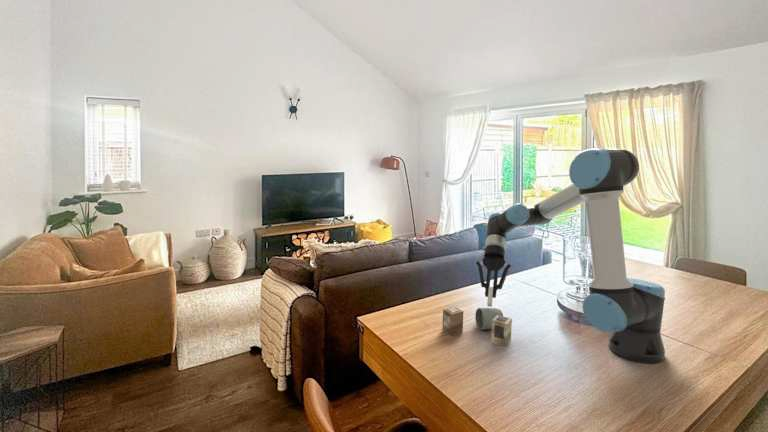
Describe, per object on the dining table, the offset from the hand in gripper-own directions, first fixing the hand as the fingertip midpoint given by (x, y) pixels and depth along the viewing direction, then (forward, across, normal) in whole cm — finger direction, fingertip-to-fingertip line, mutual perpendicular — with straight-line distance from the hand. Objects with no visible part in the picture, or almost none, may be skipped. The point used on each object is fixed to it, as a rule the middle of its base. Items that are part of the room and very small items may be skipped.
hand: (489, 305), depth 142 cm
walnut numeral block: (+11, +12, -1) cm, 16 cm away
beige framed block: (+13, -5, 0) cm, 14 cm away
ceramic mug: (+6, +1, -7) cm, 9 cm away
